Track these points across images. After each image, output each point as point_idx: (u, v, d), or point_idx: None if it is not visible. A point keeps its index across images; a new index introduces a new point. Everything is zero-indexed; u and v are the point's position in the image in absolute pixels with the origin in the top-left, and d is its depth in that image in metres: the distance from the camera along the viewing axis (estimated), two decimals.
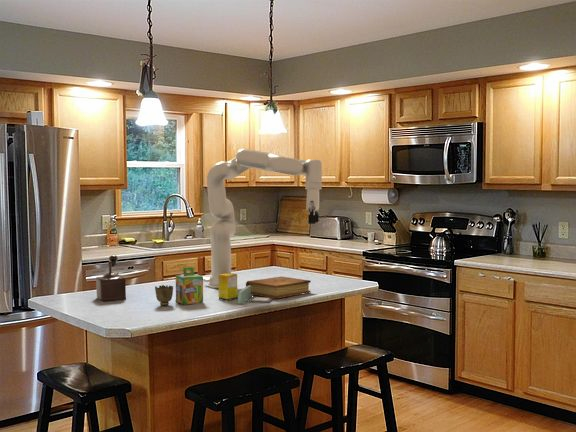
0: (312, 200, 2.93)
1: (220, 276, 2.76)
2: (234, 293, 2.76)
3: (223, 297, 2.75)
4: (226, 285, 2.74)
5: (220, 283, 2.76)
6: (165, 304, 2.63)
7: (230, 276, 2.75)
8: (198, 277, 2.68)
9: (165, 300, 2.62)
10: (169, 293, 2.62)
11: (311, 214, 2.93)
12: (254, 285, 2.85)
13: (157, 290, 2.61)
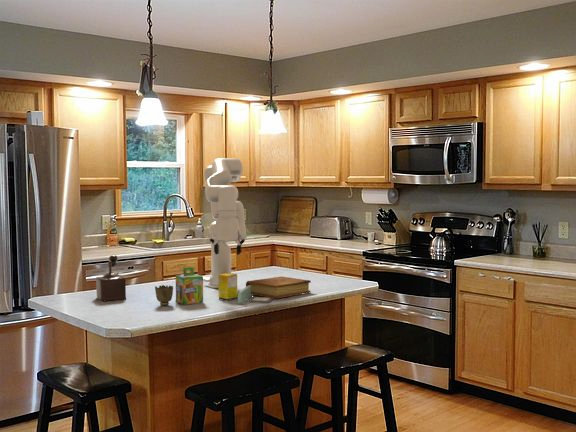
0: (238, 229, 2.75)
1: (220, 276, 2.76)
2: (234, 293, 2.76)
3: (223, 297, 2.75)
4: (226, 285, 2.74)
5: (220, 283, 2.76)
6: (165, 304, 2.63)
7: (230, 276, 2.75)
8: (198, 277, 2.68)
9: (165, 300, 2.62)
10: (169, 293, 2.62)
11: (241, 244, 2.75)
12: (254, 285, 2.85)
13: (157, 290, 2.61)
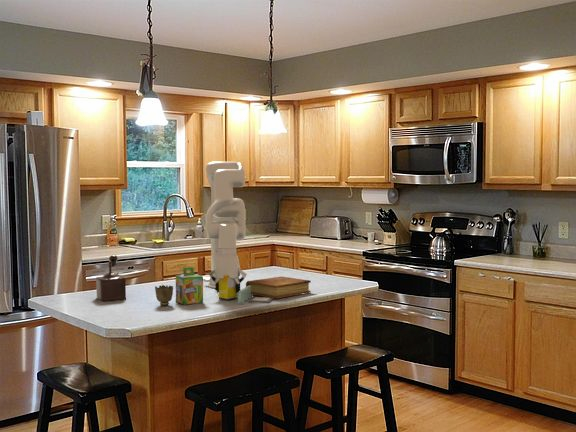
0: (239, 267, 2.76)
1: None
2: (233, 292, 2.76)
3: (223, 297, 2.75)
4: (226, 285, 2.74)
5: (220, 283, 2.76)
6: (165, 304, 2.63)
7: None
8: (198, 277, 2.68)
9: (165, 300, 2.62)
10: (169, 293, 2.62)
11: (240, 282, 2.76)
12: (254, 285, 2.85)
13: (157, 290, 2.61)
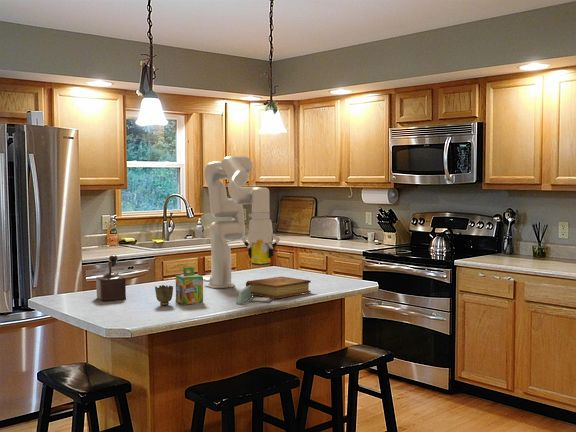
0: (272, 232, 2.72)
1: None
2: (267, 258, 2.71)
3: (256, 262, 2.71)
4: (259, 250, 2.69)
5: (253, 248, 2.71)
6: (165, 304, 2.63)
7: None
8: (198, 277, 2.68)
9: (165, 300, 2.62)
10: (169, 293, 2.62)
11: None
12: (254, 285, 2.85)
13: (157, 290, 2.61)
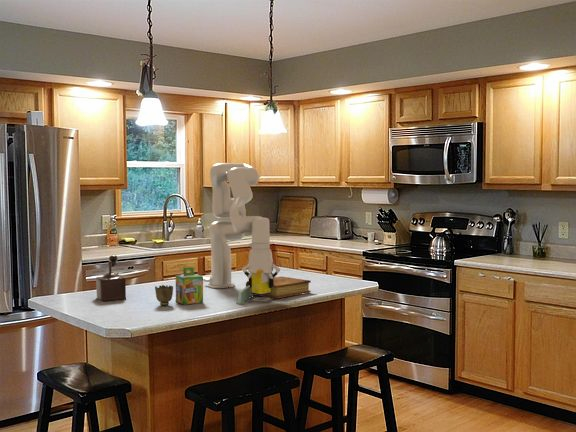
0: (272, 262, 2.72)
1: None
2: (267, 288, 2.72)
3: (256, 292, 2.71)
4: (260, 280, 2.70)
5: (253, 278, 2.72)
6: (165, 304, 2.63)
7: None
8: (198, 277, 2.68)
9: (165, 300, 2.62)
10: (169, 293, 2.62)
11: (273, 277, 2.72)
12: None
13: (157, 290, 2.61)
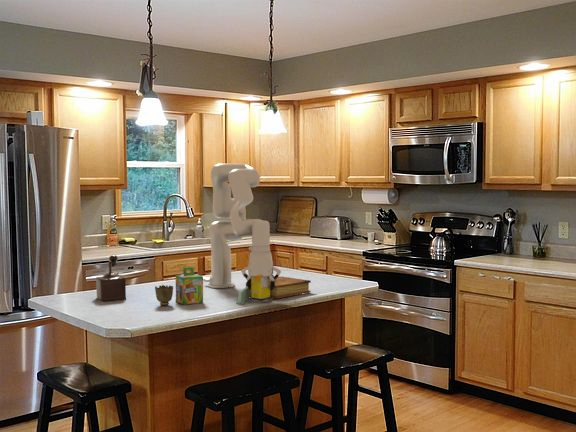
0: (272, 264, 2.72)
1: (253, 276, 2.72)
2: (266, 292, 2.73)
3: (256, 297, 2.72)
4: (259, 285, 2.70)
5: (253, 283, 2.73)
6: (165, 304, 2.63)
7: None
8: (198, 277, 2.68)
9: (165, 300, 2.62)
10: (169, 293, 2.62)
11: (275, 279, 2.72)
12: None
13: (157, 290, 2.61)
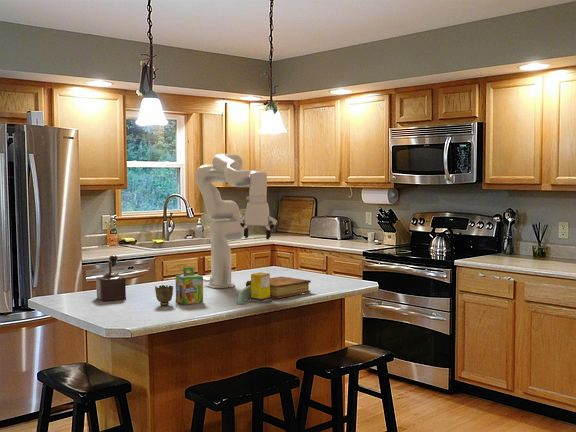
0: (268, 214, 2.80)
1: (253, 276, 2.72)
2: (266, 292, 2.73)
3: (256, 297, 2.72)
4: (259, 285, 2.70)
5: (253, 283, 2.73)
6: (165, 304, 2.63)
7: (263, 276, 2.71)
8: (198, 277, 2.68)
9: (165, 300, 2.62)
10: (169, 293, 2.62)
11: None
12: None
13: (157, 290, 2.61)
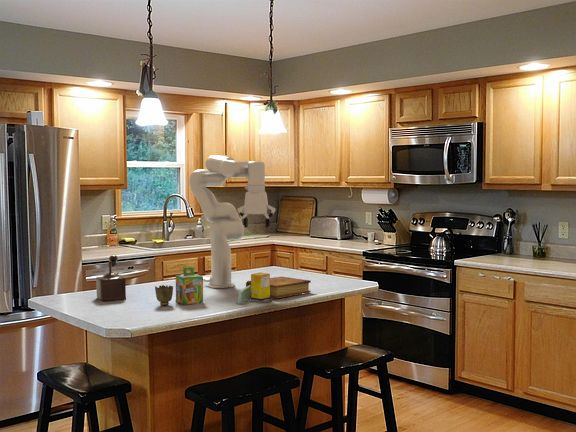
0: (267, 203, 2.84)
1: (253, 276, 2.72)
2: (266, 292, 2.73)
3: (256, 297, 2.72)
4: (259, 285, 2.70)
5: (253, 283, 2.73)
6: (165, 304, 2.63)
7: (263, 276, 2.71)
8: (198, 277, 2.68)
9: (165, 300, 2.62)
10: (169, 293, 2.62)
11: (270, 217, 2.84)
12: None
13: (157, 290, 2.61)
